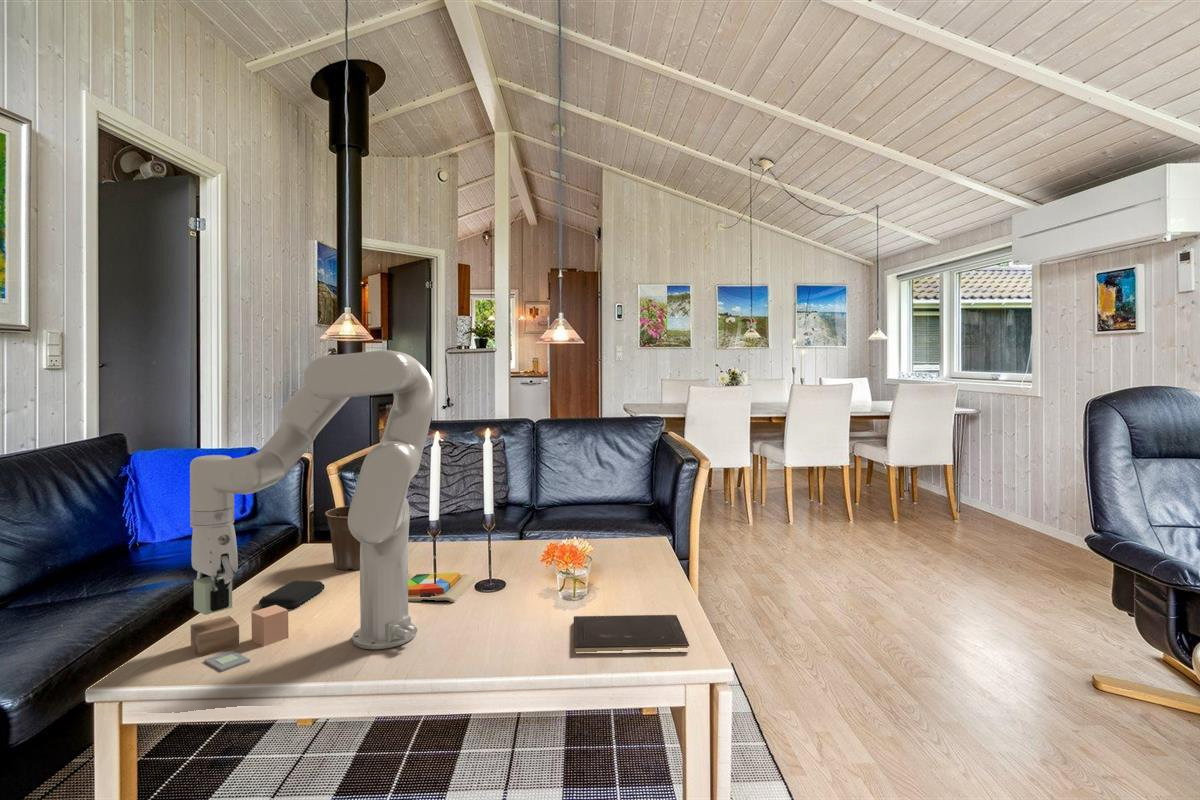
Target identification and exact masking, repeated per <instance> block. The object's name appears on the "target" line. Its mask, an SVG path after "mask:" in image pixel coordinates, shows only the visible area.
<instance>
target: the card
mask: <svg viewBox="0 0 1200 800" xmlns="http://www.w3.org/2000/svg"><path fill="white" fill-rule="evenodd" d="M203 662H204V663H205V664H207V665H209V666H211V667H213V668H215V669H217V670H219V671H220V672H224V671H227V670H230V669H233V668H235V667H238V666H242V665H244V664H247V663H249V662H251V659H250V658H248V657H247V656H245V655H242V654H240V653H238V652H236V651H234V650H233V649H231V650H229V651H225V652H223V653H219V654H216V655H215V656H214V655H213V656H211V657H208V658H205V659H204V661H203Z"/></svg>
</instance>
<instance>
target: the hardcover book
mask: <svg viewBox="0 0 1200 800" xmlns="http://www.w3.org/2000/svg"><path fill="white" fill-rule="evenodd" d="M689 647H690V643H689V641H688V638H687V636H686V634H685V631H684V629H683V627H682V625H681V622H680V620H679V618H678V616H677V614H644V615H642V614H641V615H640V614H635V615H630V614H629V615H575V616H573V649H574V653H575V652H597V651H623V650H651V649H671V648H688V649H689Z"/></svg>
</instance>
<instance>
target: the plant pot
mask: <svg viewBox="0 0 1200 800" xmlns="http://www.w3.org/2000/svg"><path fill="white" fill-rule="evenodd" d="M349 509H350V505H345V506H338V507H335V508H332V509H329V510H327V511H325V513H324V514H325V516H326V519H327V526H328V528H329V532H330V540H331V547H332V549H331V550H332V555H333V556H332V558H333V566H334V568H335V569H338V570H341V571H348V570H350V569H351V570H353V571H358V570H359V571H360V544H361V542H359V541H358V540H357V539H355V538H354V537H353V535H352V534H351V532H350V530H349V527H348V513H349Z"/></svg>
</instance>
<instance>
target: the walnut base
mask: <svg viewBox="0 0 1200 800" xmlns="http://www.w3.org/2000/svg"><path fill="white" fill-rule="evenodd" d="M190 647H191V648H192V650H193V651H194V652H195V654H196V655H197V656H198V658H201V657H203V656H206V655H210V654H214V653H219V652H222V651H226V650H229V649H233V648H236V647H237V648H238V647H240V624H239V623H238V622H236V620H235V619H234V618H233V617H232V616H231V615H226V616H221V617H219V618H218V617H217V618H214V619H210V620H205V621H201V622H196V623H192V624H190Z"/></svg>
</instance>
